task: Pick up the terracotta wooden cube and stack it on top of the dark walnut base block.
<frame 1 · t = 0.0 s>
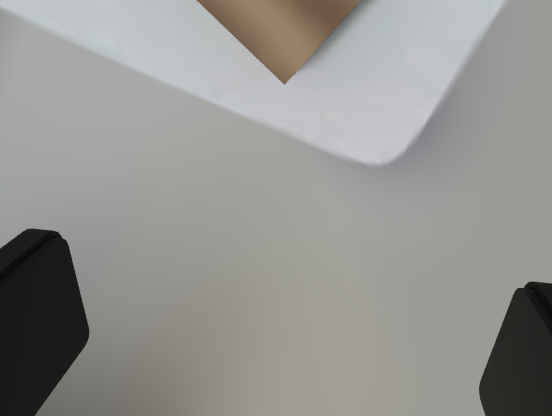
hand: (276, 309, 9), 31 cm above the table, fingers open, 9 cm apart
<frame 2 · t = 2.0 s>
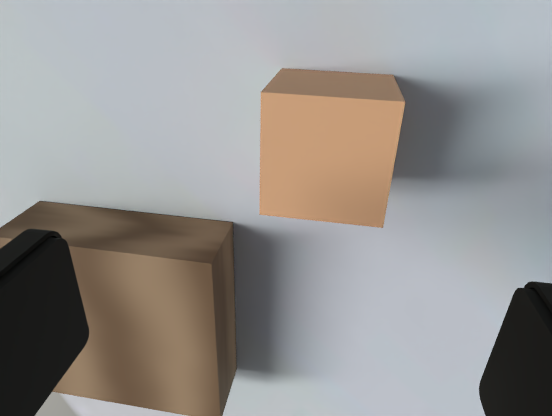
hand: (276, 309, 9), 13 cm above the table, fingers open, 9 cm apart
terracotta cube: (331, 125, 20), on the table
walnut base: (145, 291, 27), on the table
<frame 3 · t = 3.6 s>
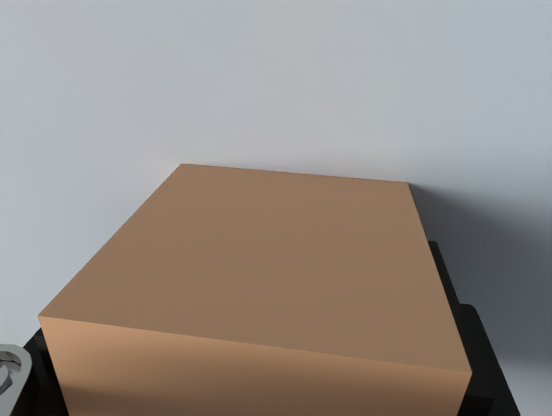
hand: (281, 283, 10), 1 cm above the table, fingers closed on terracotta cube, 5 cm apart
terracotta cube: (286, 265, 10), on the table, touching gripper
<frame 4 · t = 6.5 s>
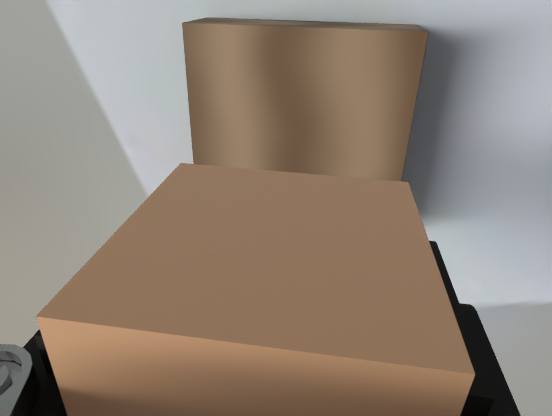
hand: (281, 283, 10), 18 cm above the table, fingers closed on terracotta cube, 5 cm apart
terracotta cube: (286, 265, 10), point 17 cm above the table, touching gripper
walnut base: (302, 123, 26), on the table
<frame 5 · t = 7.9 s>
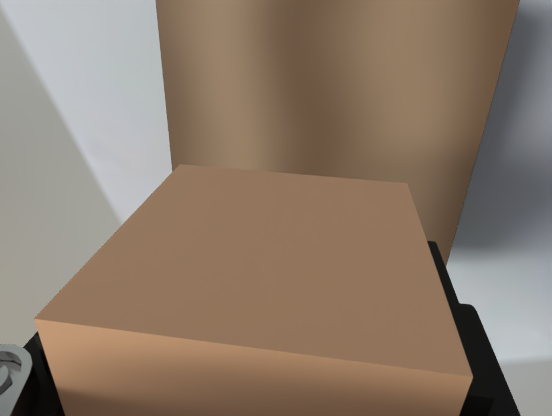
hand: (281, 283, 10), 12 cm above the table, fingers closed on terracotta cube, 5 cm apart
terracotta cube: (285, 266, 10), point 11 cm above the table, touching gripper
walnut base: (320, 128, 20), on the table
when the fingers open (6 cm above the table, at t = 9.3 s): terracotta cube drops 1 cm, resting on walnut base.
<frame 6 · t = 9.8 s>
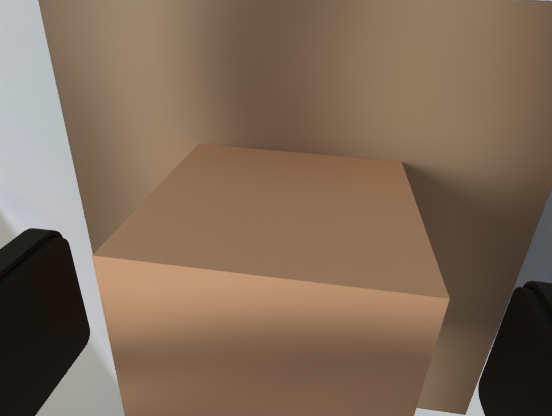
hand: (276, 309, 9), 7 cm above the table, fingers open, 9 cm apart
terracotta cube: (291, 238, 11), point 4 cm above the table, touching walnut base
walnut base: (303, 181, 15), on the table
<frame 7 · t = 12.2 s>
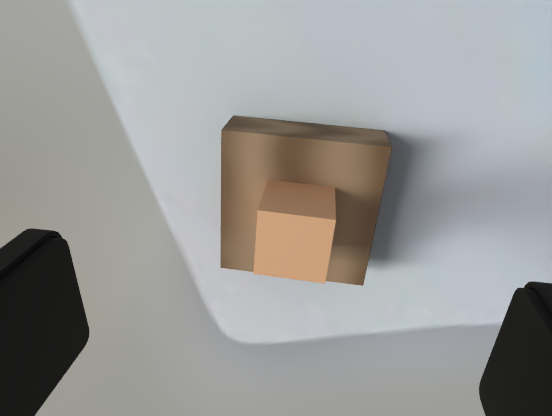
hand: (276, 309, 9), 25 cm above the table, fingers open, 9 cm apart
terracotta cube: (297, 213, 32), point 4 cm above the table, touching walnut base
walnut base: (300, 191, 35), on the table
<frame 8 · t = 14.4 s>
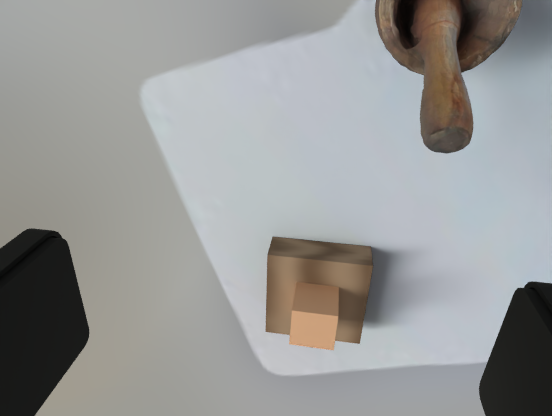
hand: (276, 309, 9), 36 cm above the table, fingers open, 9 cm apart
mortar and pestle: (418, 19, 38), on the table
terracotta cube: (315, 300, 50), point 4 cm above the table, touching walnut base
walnut base: (317, 280, 53), on the table
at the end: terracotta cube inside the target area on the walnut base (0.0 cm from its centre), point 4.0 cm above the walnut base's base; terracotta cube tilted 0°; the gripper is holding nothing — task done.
